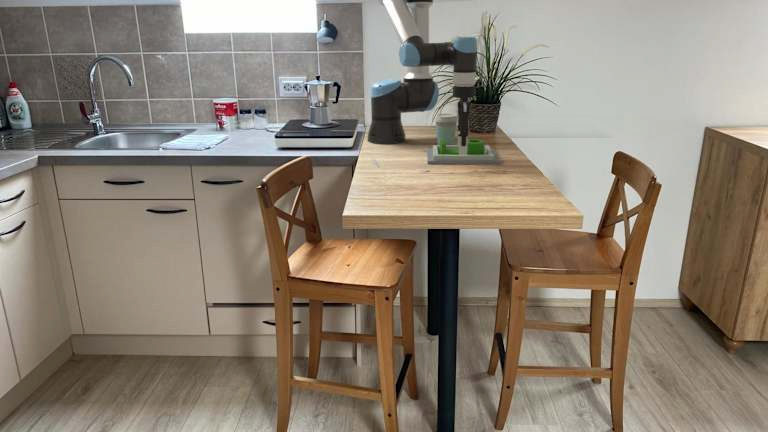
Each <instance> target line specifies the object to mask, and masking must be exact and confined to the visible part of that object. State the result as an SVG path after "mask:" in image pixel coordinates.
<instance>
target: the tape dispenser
mask: <svg viewBox="0 0 768 432" xmlns="http://www.w3.org/2000/svg"><path fill="white" fill-rule="evenodd" d="M485 142H486V141H485V140H482V139H472V138H471V139H469V138H468V144H467V155H484V145H485ZM440 154H441V155H459V149H446V142H445V140H440Z"/></svg>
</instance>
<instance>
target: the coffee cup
mask: <svg viewBox="0 0 768 432" xmlns="http://www.w3.org/2000/svg"><path fill="white" fill-rule="evenodd" d="M434 122H435V131H436V141H437V145H440V140H445V142H446V145H455V138H456V131H457V126H458V117H457V114H454V113H439V114H436V115H435V117H434Z"/></svg>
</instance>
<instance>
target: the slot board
mask: <svg viewBox="0 0 768 432" xmlns="http://www.w3.org/2000/svg"><path fill="white" fill-rule="evenodd" d="M446 149H458V144H457V145H456V144H454V145H446ZM426 155H427V165H502V164H501V163H502V161H501V159H500V158H499V157H500V156H499V155H498V154H497V152H496V150H495V148H491V147H490V145H488V144H487V145H485V144H484V155H441V154H440V145H438V144H436V145H435V144H433V145H432V148H427V149H426Z"/></svg>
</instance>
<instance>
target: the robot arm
mask: <svg viewBox="0 0 768 432" xmlns="http://www.w3.org/2000/svg"><path fill="white" fill-rule="evenodd" d="M378 2H379V4H380V5H381V6H383V7H384V9H385V11H386V14H387V16H388V18H389V20H390V22H391V25H392V27H393V30H394V32H395V34H396V36H397V38H398V41H399V43H400V45H401V46H400V47H399V48H398V49H399V50H398V57H399V63H400V64H401V66H403V67H406V70H407V71H406V72H407V73H406V74H405V75H404V77H403V82H402V81H401V79H398V78H393V79H384V80H380V81H377V82H374V83H373V84H372V85H371V87H370V88H371V89H370V91H371V92H370V99H371V100H370V106H371V109H370V110H371V122H370V125H369V129H368V132H367V142H369V143H372V144H381V145H382V144H383V145H387V144H388V145H389V144H399V143H403V142H405V141H406V133H405V129H404V127H403V126H404V125H403V123H402V114H403V113H406V114H407V113H420V112H421V113H424V112H428V111H429V112H430V111H432V110H434V108H435V107H436V105H437V104H438V100H439V96H440V95H439V93H440V91H439V84H438V83H437V81H434V76H433V75H432V74H431V73H430V67H433V66H434V67H435V66H439V67H440V66H442V67H443V66H453V71H452V84H453V87H452V97H453V98H455V99H459V100H458V101H457V115H458V117H457V120H458V121H457V131H458V132H457V145H458V149H459V155H467V144H468V140H469V138H468V136H469V134H470V133H469V117H470V108H471V103H470V101H469V98H470V99H472V98H473V99H474V98H475V97H476V88H477V87H476V82H477V80H476V79H477V78H478V77H479V76H478V74H477V64H478V63H477V61H478V59H477V58H478V39H477V38H476V37H475V36H456V37H455V38H454V40H453V42H452V41H444V42H430V8H431V6H432V5H433V4H434V0H378Z"/></svg>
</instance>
